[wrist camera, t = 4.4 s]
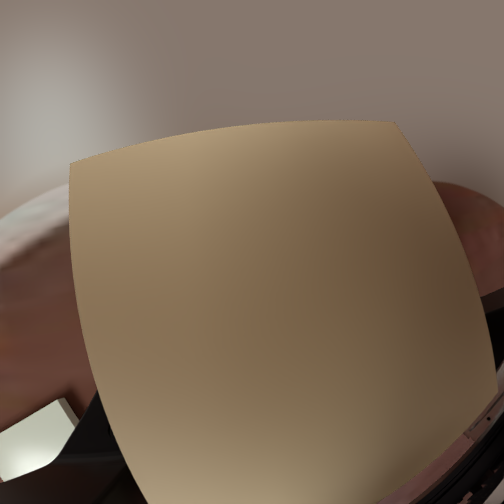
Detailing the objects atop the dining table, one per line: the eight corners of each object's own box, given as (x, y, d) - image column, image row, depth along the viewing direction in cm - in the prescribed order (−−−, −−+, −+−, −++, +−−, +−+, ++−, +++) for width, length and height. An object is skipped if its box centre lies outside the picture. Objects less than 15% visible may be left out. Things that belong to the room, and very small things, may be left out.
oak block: (283, 370, 15) (498, 391, 3) (198, 397, 13) (194, 567, 1) (256, 288, 16) (394, 121, 4) (171, 311, 15) (70, 164, 3)
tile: (169, 521, 10) (168, 529, 9) (73, 548, 6) (69, 553, 6) (64, 397, 12) (57, 399, 11) (-13, 442, 8) (-20, 444, 7)
